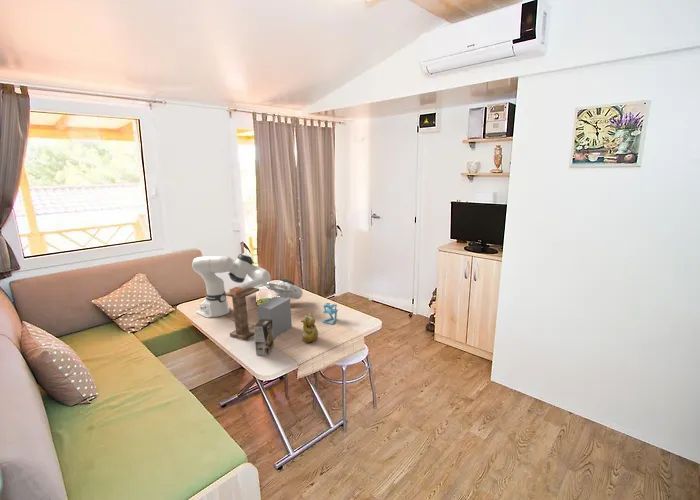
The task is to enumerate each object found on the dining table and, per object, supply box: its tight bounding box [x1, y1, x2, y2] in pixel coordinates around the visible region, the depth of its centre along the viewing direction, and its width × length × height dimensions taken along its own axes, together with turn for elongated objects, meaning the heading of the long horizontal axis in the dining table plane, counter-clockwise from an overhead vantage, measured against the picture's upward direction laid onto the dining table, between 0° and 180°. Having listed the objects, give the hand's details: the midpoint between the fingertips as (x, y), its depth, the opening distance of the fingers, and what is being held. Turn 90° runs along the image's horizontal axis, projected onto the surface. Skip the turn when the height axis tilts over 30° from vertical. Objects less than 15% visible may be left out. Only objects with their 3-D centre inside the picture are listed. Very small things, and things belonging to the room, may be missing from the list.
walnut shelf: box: [225, 287, 260, 342], centre depth 202 cm, size 12×14×26 cm
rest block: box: [256, 296, 293, 339], centre depth 205 cm, size 10×17×18 cm, turn 152°
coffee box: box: [253, 319, 275, 356], centre depth 183 cm, size 9×6×16 cm
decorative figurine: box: [300, 312, 319, 344], centre depth 193 cm, size 10×8×15 cm
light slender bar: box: [229, 277, 265, 296], centre depth 203 cm, size 4×24×3 cm, turn 152°
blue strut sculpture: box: [321, 302, 339, 326], centre depth 217 cm, size 8×8×12 cm
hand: (273, 284), depth 223 cm, fingers open, 8 cm apart
